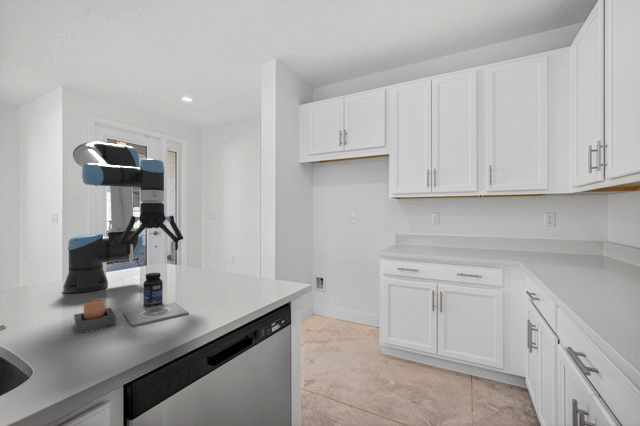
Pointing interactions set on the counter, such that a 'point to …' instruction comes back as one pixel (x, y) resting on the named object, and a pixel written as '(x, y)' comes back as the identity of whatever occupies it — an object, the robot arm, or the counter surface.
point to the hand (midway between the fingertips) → (153, 261)
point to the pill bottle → (152, 290)
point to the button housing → (94, 321)
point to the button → (94, 309)
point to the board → (154, 314)
